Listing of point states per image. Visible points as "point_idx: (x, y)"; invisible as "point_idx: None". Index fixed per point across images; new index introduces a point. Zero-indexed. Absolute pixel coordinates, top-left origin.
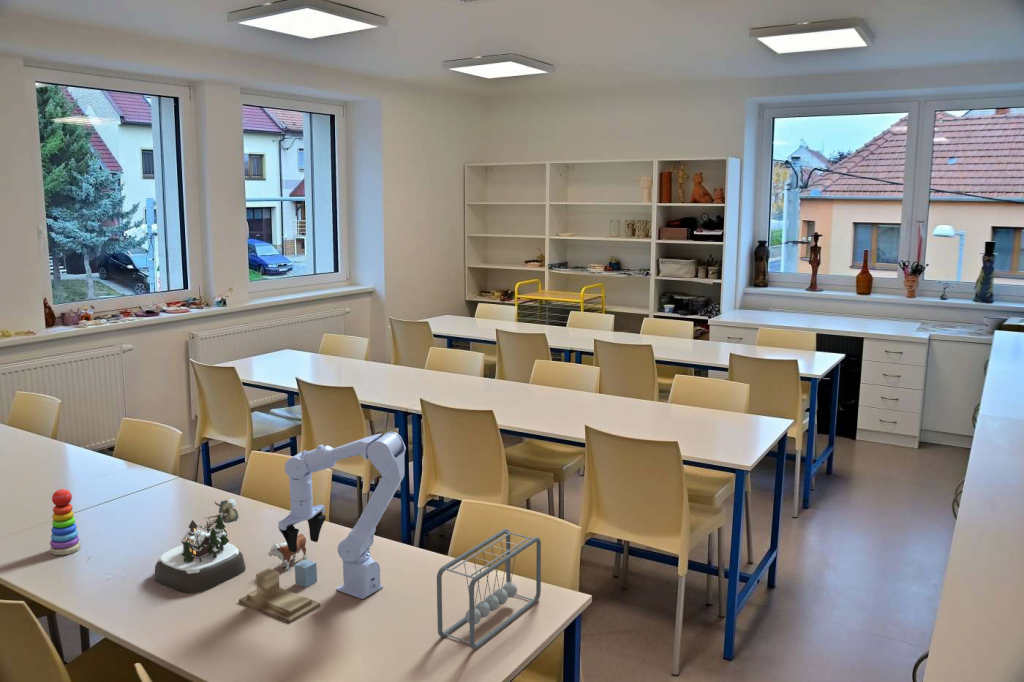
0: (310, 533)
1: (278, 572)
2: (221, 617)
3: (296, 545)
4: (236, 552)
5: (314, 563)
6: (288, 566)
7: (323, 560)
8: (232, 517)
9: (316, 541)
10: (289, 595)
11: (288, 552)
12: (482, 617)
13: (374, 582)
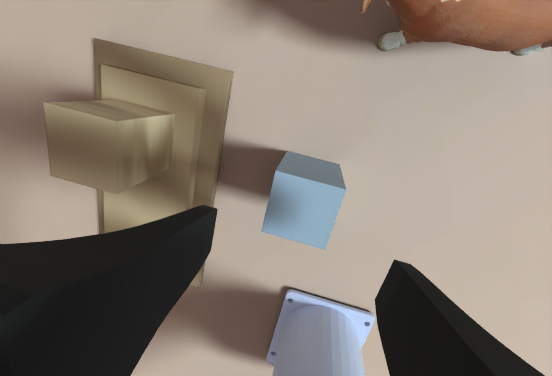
0: (415, 296)
1: (117, 193)
2: (19, 55)
3: (181, 289)
4: None
5: (316, 245)
6: (395, 44)
7: (510, 146)
8: None
9: (378, 304)
10: (166, 211)
11: (418, 35)
12: None
13: None
